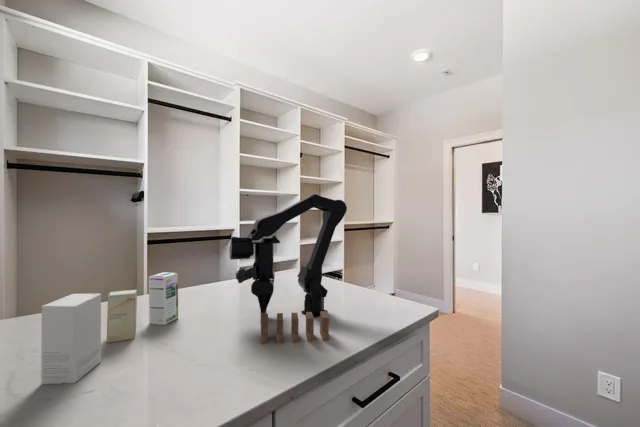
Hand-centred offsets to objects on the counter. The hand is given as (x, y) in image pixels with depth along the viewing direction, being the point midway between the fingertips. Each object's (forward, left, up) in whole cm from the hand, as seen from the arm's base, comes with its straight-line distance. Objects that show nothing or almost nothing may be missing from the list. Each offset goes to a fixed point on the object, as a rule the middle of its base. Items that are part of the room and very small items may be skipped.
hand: (263, 307), depth 90 cm
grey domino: (0, 0, -4) cm, 4 cm away
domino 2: (+6, +14, -4) cm, 15 cm away
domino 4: (0, +19, -4) cm, 19 cm away
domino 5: (-3, +22, -4) cm, 22 cm away
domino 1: (+9, +11, -4) cm, 15 cm away
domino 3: (+3, +16, -4) cm, 17 cm away
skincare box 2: (+33, -18, -4) cm, 38 cm away
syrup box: (+21, -22, -4) cm, 31 cm away
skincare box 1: (+45, -6, -4) cm, 45 cm away
